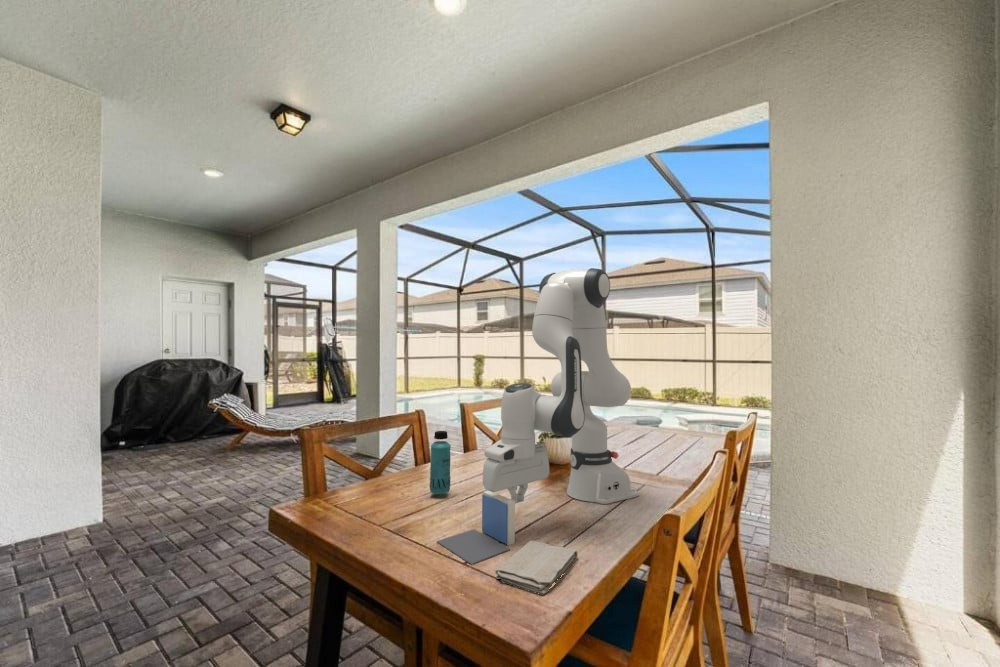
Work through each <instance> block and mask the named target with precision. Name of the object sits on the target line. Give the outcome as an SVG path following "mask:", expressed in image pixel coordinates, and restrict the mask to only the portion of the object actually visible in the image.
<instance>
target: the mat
mask: <svg viewBox="0 0 1000 667" xmlns="http://www.w3.org/2000/svg"><path fill="white" fill-rule="evenodd" d="M436 543H437V544H438V545H440V546H442V547H443V546H444V547H443V548H445V549H446V548H447V549H446V550H448V551H449V550H450V551H449V552H451V553H452V552H453V553H452V554H454V555H455V554H456V555H455V556H457V557H458V556H459V557H458V558H459V559H461V558H462V561H464V560H465V562H466V563H468V564H469V563H470V566H473V565H475V564H474V563H476V562H478V563H480V561H481V562H483V561H485V559H486V560H489V559H491V558H494V557H495V556H498V555H502V554H504V553H506V551H507V552H509V551H511V548H510V547H507V546H506V545H504V544H502V543H500V541H498V540H497V541H496V539H494V538H491V537H489V535H487V534H484V533H482V532H481V531H478V530H477V529H476V528H474V529H473V528H472V529H470V530H466V531H464V532H460V533H457V534H455V535H452V536H448V537H445V538H443V539H439V540H437V541H436ZM482 560H483V561H482ZM472 564H473V565H472ZM476 564H477V563H476Z"/></svg>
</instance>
